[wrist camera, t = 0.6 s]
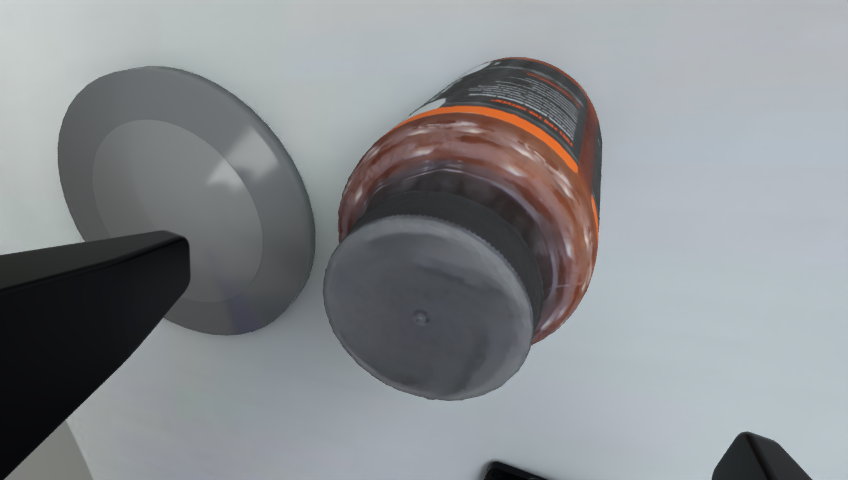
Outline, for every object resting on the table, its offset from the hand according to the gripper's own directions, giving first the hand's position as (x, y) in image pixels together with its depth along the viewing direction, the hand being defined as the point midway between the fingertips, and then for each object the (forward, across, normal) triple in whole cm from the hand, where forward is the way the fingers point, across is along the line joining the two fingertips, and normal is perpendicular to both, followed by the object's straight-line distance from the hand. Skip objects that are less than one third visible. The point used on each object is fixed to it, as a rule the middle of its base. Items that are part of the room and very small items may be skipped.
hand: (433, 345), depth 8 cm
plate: (+12, +14, +7) cm, 20 cm away
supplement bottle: (+12, 0, 0) cm, 13 cm away
